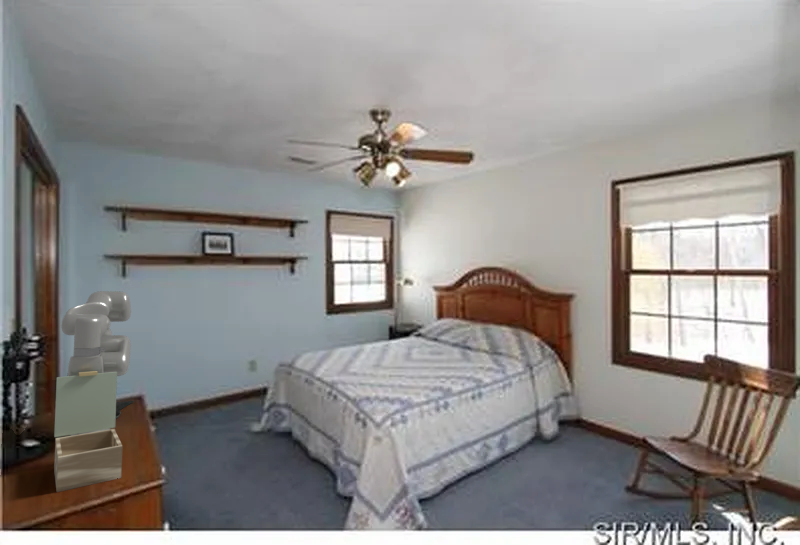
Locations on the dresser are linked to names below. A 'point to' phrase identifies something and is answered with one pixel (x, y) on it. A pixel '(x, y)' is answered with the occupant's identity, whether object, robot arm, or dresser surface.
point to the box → (87, 459)
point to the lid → (85, 403)
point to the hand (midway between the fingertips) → (84, 404)
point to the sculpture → (121, 406)
